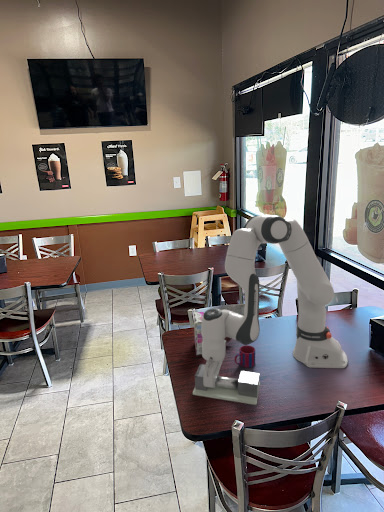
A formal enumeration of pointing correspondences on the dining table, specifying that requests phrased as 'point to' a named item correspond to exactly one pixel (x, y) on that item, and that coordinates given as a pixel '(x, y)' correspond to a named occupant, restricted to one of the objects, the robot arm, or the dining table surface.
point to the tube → (227, 382)
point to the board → (226, 395)
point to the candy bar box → (198, 332)
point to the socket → (200, 378)
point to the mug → (246, 356)
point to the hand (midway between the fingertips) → (214, 382)
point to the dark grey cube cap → (248, 384)
